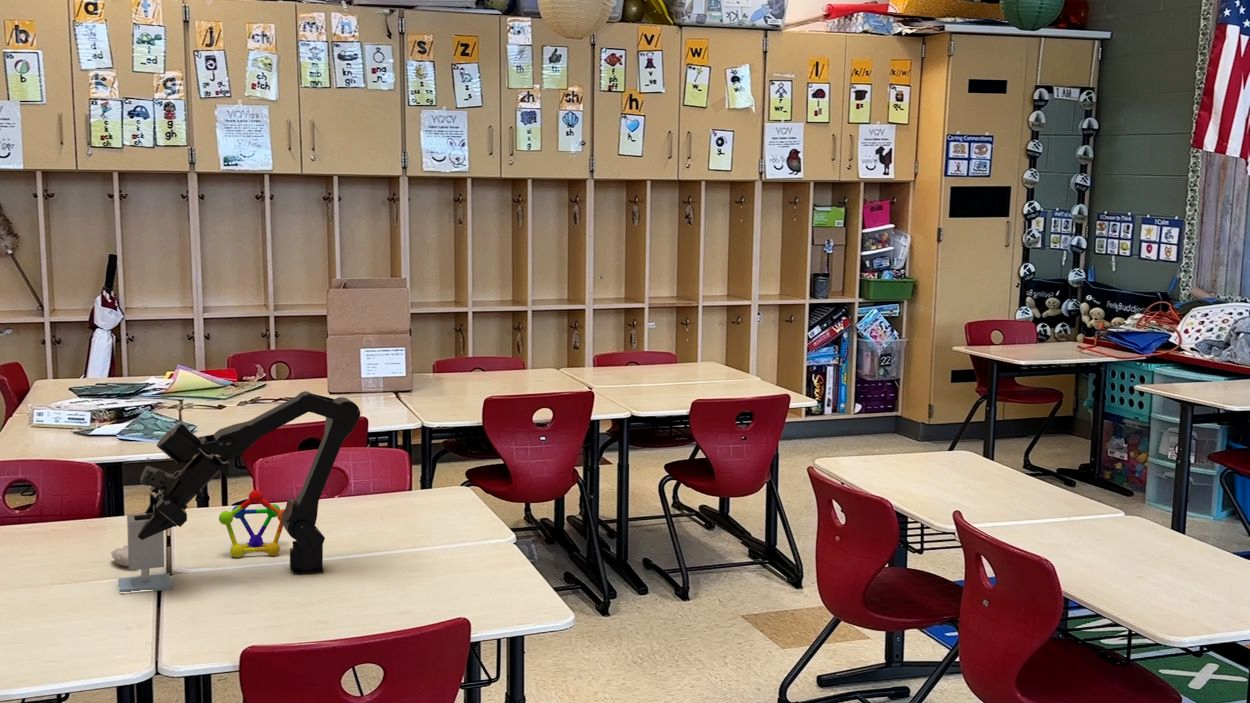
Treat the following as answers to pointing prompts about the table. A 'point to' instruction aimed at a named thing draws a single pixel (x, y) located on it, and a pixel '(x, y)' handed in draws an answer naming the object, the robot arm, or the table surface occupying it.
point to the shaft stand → (146, 582)
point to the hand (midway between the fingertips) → (138, 533)
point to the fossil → (121, 555)
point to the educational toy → (255, 540)
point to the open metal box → (143, 544)
